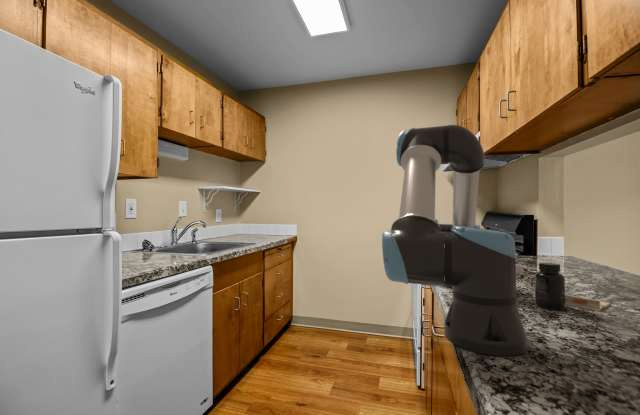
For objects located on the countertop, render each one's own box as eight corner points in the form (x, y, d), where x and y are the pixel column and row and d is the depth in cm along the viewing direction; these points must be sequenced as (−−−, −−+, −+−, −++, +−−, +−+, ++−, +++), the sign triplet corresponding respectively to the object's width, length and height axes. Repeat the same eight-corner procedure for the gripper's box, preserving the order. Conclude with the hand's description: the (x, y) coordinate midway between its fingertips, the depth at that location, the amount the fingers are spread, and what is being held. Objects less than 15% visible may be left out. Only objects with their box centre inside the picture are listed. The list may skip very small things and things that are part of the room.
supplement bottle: (571, 311, 82) (570, 266, 82) (542, 309, 83) (541, 265, 83) (556, 303, 89) (556, 262, 89) (530, 302, 90) (530, 261, 90)
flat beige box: (598, 311, 82) (598, 301, 82) (554, 302, 90) (554, 293, 90) (610, 304, 87) (610, 295, 87) (567, 296, 96) (567, 288, 96)
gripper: (469, 269, 119) (530, 279, 101) (428, 277, 105) (490, 290, 88) (469, 249, 119) (530, 256, 101) (428, 255, 105) (490, 264, 88)
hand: (512, 272), depth 94 cm, fingers open, 13 cm apart
